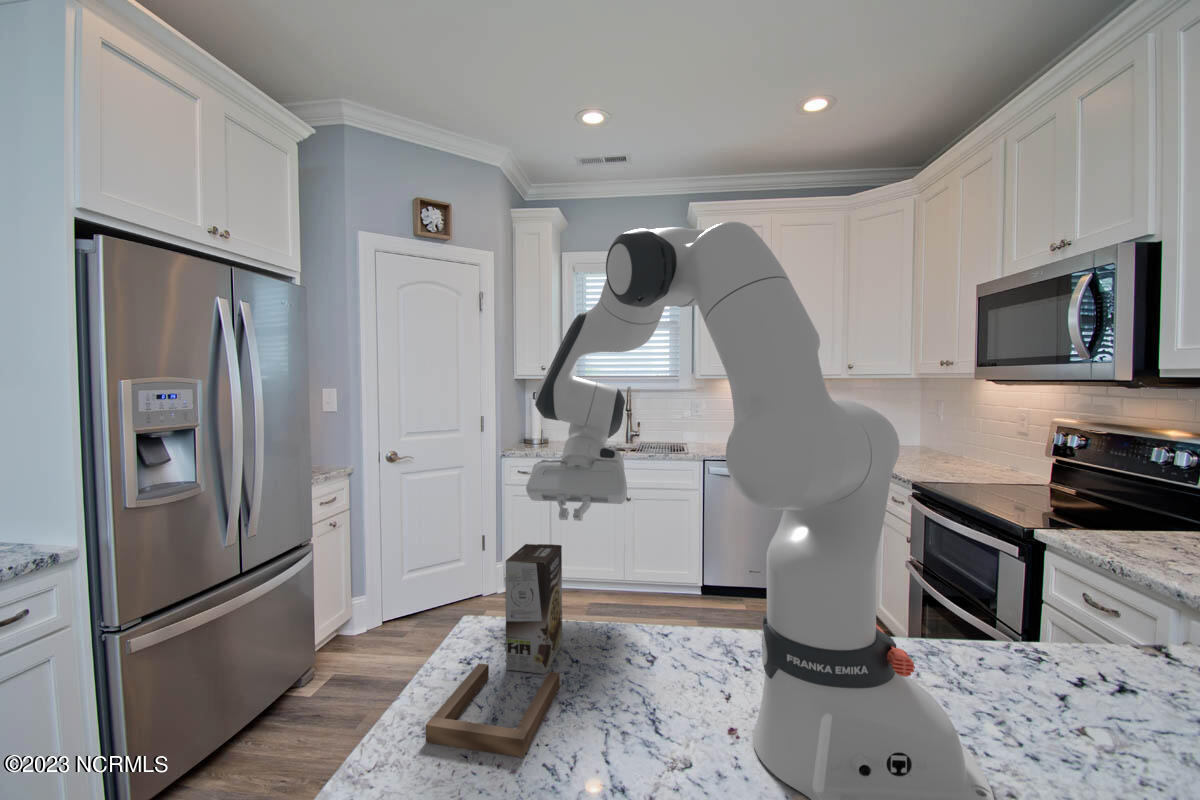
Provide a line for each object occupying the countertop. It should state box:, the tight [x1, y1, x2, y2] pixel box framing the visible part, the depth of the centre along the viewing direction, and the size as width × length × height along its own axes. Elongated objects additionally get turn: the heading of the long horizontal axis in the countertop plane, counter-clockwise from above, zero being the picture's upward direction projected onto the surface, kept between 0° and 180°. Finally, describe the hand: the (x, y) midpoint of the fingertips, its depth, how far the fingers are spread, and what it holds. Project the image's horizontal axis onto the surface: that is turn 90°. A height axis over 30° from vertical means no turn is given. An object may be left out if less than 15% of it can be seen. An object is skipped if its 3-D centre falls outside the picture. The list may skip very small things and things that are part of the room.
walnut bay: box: [425, 663, 561, 758], centre depth 63 cm, size 12×14×2 cm
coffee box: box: [505, 543, 563, 675], centre depth 76 cm, size 9×6×16 cm
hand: (570, 518), depth 95 cm, fingers closed
